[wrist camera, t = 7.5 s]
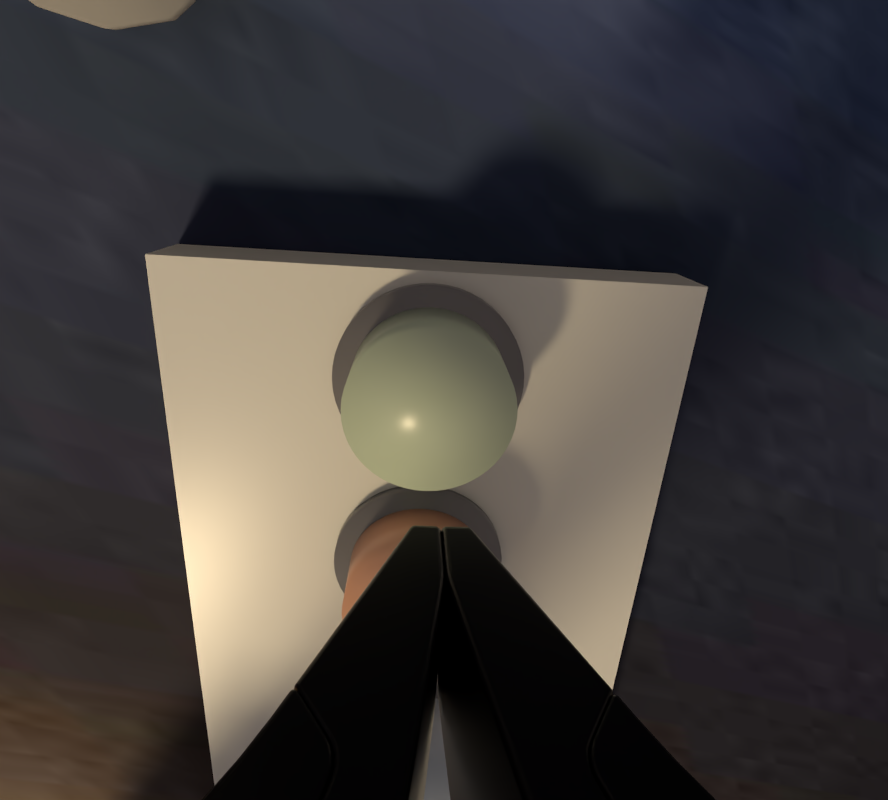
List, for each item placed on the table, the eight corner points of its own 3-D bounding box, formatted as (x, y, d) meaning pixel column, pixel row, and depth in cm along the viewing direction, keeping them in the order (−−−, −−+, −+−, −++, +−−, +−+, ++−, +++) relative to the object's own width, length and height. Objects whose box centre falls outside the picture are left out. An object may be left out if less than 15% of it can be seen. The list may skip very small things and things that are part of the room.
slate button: (467, 783, 19) (472, 850, 17) (345, 782, 19) (337, 850, 17) (477, 695, 17) (484, 758, 16) (345, 693, 17) (336, 757, 15)
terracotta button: (479, 620, 18) (486, 672, 16) (350, 617, 18) (342, 670, 16) (491, 511, 16) (500, 555, 14) (350, 506, 16) (341, 550, 14)
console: (562, 801, 25) (576, 862, 23) (238, 799, 24) (219, 863, 22) (675, 273, 16) (715, 289, 14) (177, 243, 16) (136, 256, 13)
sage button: (497, 455, 16) (507, 494, 14) (350, 449, 15) (341, 488, 14) (513, 312, 14) (527, 333, 12) (350, 302, 14) (340, 323, 12)
